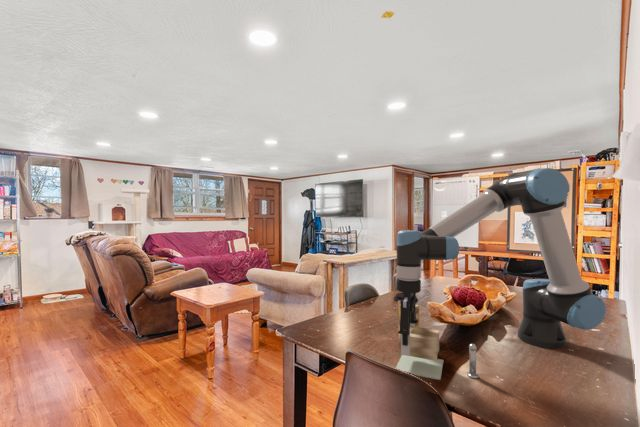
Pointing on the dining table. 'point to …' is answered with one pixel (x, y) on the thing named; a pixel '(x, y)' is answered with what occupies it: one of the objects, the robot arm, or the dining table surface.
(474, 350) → the stand
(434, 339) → the c link
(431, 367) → the felt mat
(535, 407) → the dining table surface
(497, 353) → the dining table surface
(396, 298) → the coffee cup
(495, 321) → the dining table surface
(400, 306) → the candy box
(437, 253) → the robot arm
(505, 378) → the dining table surface
